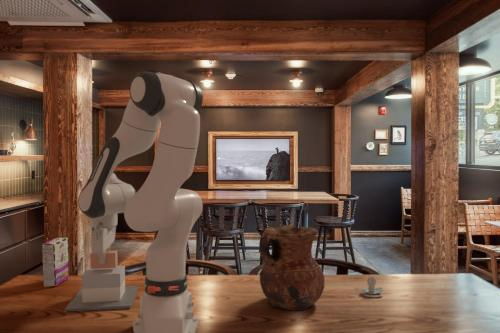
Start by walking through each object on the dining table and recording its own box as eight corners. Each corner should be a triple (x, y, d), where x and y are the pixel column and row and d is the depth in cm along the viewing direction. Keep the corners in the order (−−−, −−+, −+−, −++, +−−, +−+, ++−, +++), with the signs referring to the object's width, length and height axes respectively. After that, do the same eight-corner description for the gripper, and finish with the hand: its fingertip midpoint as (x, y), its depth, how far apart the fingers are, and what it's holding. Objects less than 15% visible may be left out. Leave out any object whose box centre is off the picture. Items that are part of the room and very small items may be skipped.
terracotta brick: (115, 267, 137) (115, 253, 136) (90, 268, 135) (90, 253, 135) (117, 264, 141) (117, 250, 140) (93, 265, 139) (93, 251, 139)
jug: (278, 288, 149) (278, 220, 149) (333, 298, 139) (334, 225, 138) (247, 308, 130) (247, 230, 130) (308, 322, 120) (308, 237, 119)
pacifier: (385, 299, 139) (380, 292, 145) (385, 281, 139) (380, 275, 145) (363, 298, 140) (359, 292, 146) (363, 280, 139) (359, 275, 145)
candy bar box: (57, 278, 162) (56, 237, 161) (69, 278, 162) (68, 237, 161) (42, 287, 150) (41, 243, 150) (55, 287, 150) (54, 243, 150)
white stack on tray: (130, 308, 130) (130, 277, 130) (64, 312, 127) (64, 280, 127) (138, 288, 150) (138, 261, 149) (81, 290, 147) (81, 263, 147)
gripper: (107, 225, 128) (107, 269, 128) (118, 215, 148) (119, 253, 148) (86, 226, 127) (86, 270, 127) (100, 216, 147) (101, 254, 147)
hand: (104, 261), depth 138 cm, fingers closed on terracotta brick, 4 cm apart
